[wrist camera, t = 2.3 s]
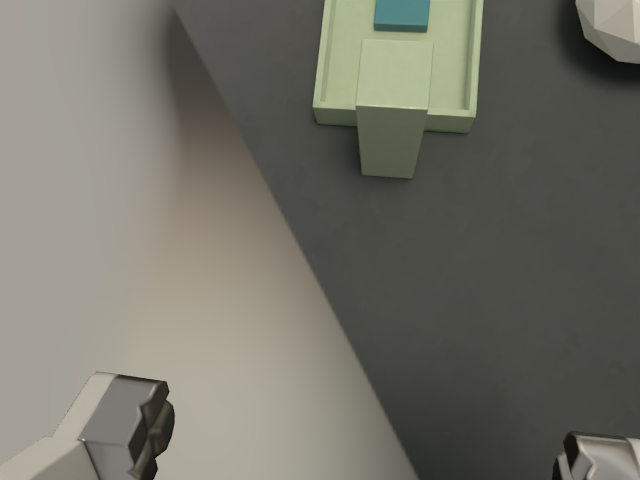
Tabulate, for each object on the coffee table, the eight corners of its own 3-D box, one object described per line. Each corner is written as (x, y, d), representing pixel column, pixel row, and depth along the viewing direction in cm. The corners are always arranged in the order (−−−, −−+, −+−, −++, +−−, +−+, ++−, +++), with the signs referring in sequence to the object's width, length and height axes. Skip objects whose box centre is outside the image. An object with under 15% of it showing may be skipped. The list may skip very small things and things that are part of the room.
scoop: (465, 182, 31) (505, 114, 22) (311, 171, 32) (283, 101, 23) (479, -35, 34) (521, -186, 24) (335, -39, 35) (319, -185, 25)
